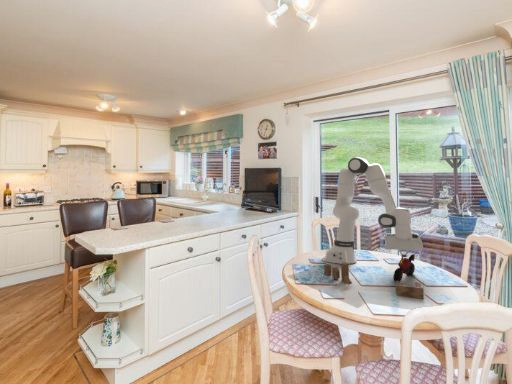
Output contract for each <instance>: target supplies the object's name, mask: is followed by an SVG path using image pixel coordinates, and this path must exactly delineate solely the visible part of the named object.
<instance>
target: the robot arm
mask: <svg viewBox="0 0 512 384" xmlns="http://www.w3.org/2000/svg"><path fill="white" fill-rule="evenodd" d="M362 175H363V176H365V177H366V181H367V184H368V185H367V186H368V187H369V191H370V192H371V193H372V194H374V195H375V196H378V198H379V199H380V200H381V201H382V203H383V206H384V209H385V211H386V212H384V213H381V214H379V216H378V218H377V221H378V225H379V226H380V227H381V228H384V229H391V228H394V233H392V234H391V233H387V234H385V235H384V236H383V237H384V238H383V239H384V241H385V243H384V248H385V249H386V250H393V251H394V250H398V252H399V254H400V256H401V258H402V256H403V254H404V256H403V258H408V257H407V256H408V254H409V251H419V252H420V251H423V250H424V245H423V241H422V239H421V235H420V234H419V233H417V232H415V231H412V228H411V224H412V219H411V217H412V216H411V211H410V210H409V209H408V208H406V207H397V205H396V203H395V201H394V197H393V195H392V193H391V190H390V188H389V185H388V181H387V177H386V174H385V172H384V169H383V168H382V165H380V164H379V163H372V164H371V163H370V162H369V161H368V160H367V159H365V158H363V157H359V156H355V157H352V158H351V159H349V161H348V163H347V167H345V168H342V169H340V171H339V174H338V179H337V196H336V200H335V205H334V207H333V209H332V213H333V216H334V217H336V219H338V220H339V224H338V226H337V227H336V228H337V229H336V239H334V240H333V245H332V246H331V247H330V248H328V249H327V250H326V252H325V256H323V257H322V259H321V260H322V261H323V262H326V263H327V262H328V263H335V264H340V265H341V263H342V262H347V263H348V264H355V263H357V258H356V253H355V248H356V242H355V225H356V222H357V220H358V219H359V216H360V212H359V209H358V208H357V207H355V206H354V205H352V201H353V199H354V198H355V189H356V188H355V186H356V185H355V184H356V181H355V180H356V177H359V176H362ZM403 251H405V253H403Z"/></svg>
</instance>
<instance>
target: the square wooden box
mask: <svg viewBox="0 0 512 384" xmlns="http://www.w3.org/2000/svg"><path fill="white" fill-rule="evenodd" d="M395 292H396V297H403V298H413V299H418V300H419V299H421V300H424V287H422V284H421V283H419V282H415V286H413V285H406V284H405V285H403V284H401V281H396V282H395Z"/></svg>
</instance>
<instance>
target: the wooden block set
mask: <svg viewBox="0 0 512 384" xmlns="http://www.w3.org/2000/svg"><path fill="white" fill-rule="evenodd" d="M349 264H350V263H349ZM349 264H348V263H347V262H342V263H341V264H340V268H339V267H338V266H333V267H332V264H328V263H326V264H324V265H323V275H324V276H325V277H331V276H332V277H331V278H332V279H334V280H339V279H340V278H341V282H342V283H343V284H345V285H351V284H353V282H352V281H351V279H350V277H349V276H350V271H349V270H350V269H349V267H350V266H349ZM340 269H341V270H340ZM340 276H341V277H340Z"/></svg>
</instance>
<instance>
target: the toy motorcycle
mask: <svg viewBox="0 0 512 384" xmlns="http://www.w3.org/2000/svg"><path fill="white" fill-rule="evenodd" d="M402 254H403V256H404V254H405V253H402ZM403 256H402V257H401V258H400V260H399V262H398V264H397V265H398V267H397V268H396V269H395V270H394V272H393V281H394V283H396V281H400V282H401V281H402V279H403V276H404V275H406V276H408V277H410V276H413V275H414V273H415V269H416V268H415V264H414V262H415V258H416V257H415V256H416V255H415V253H413V254H411V255H410V256H409V257H403Z"/></svg>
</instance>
